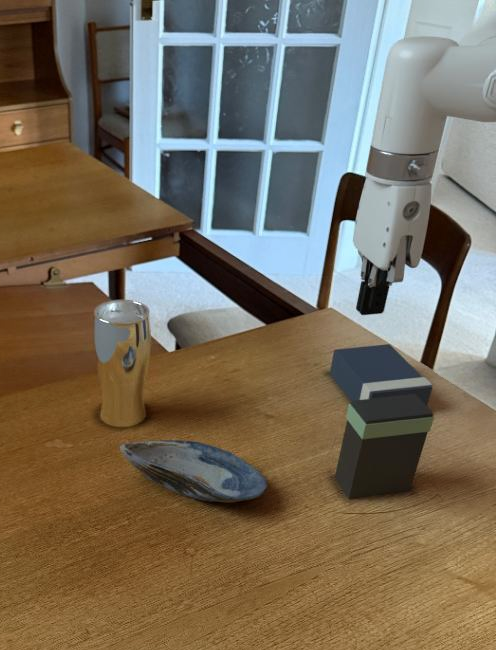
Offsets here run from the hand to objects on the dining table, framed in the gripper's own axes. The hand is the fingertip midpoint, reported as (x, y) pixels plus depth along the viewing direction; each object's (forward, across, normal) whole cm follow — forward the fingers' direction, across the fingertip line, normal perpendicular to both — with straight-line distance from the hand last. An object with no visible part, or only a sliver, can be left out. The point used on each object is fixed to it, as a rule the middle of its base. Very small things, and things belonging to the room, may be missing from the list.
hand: (369, 311), depth 98 cm
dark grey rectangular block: (+10, -25, +9) cm, 28 cm away
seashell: (+10, -22, +29) cm, 38 cm away
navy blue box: (+7, 0, 0) cm, 7 cm away
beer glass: (+10, -5, +34) cm, 36 cm away
